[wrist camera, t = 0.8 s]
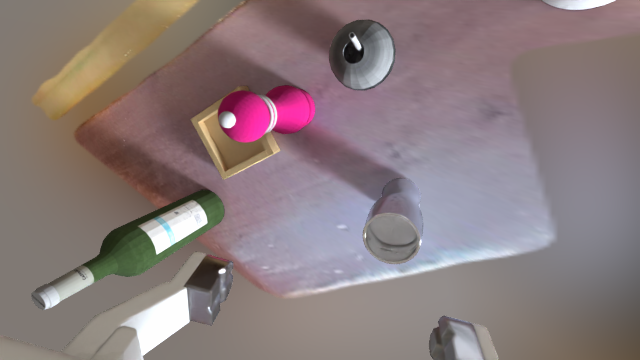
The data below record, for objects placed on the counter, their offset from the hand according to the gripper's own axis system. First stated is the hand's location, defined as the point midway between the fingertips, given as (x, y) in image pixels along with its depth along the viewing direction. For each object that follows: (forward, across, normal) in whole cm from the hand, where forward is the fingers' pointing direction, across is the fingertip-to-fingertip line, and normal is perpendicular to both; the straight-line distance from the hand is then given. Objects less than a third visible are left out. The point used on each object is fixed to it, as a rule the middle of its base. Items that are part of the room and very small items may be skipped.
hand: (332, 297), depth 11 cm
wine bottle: (+39, +26, +30) cm, 56 cm away
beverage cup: (+39, -1, -4) cm, 39 cm away
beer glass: (+34, -10, +14) cm, 38 cm away
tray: (+40, +21, +13) cm, 47 cm away
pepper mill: (+40, +10, +5) cm, 41 cm away
